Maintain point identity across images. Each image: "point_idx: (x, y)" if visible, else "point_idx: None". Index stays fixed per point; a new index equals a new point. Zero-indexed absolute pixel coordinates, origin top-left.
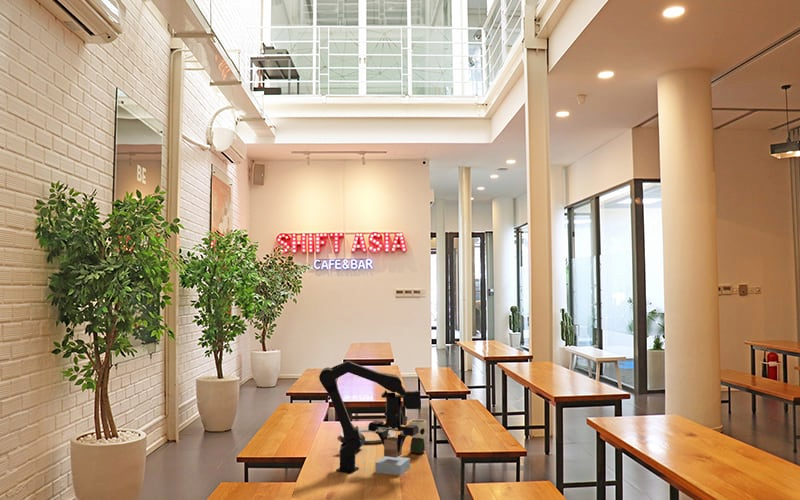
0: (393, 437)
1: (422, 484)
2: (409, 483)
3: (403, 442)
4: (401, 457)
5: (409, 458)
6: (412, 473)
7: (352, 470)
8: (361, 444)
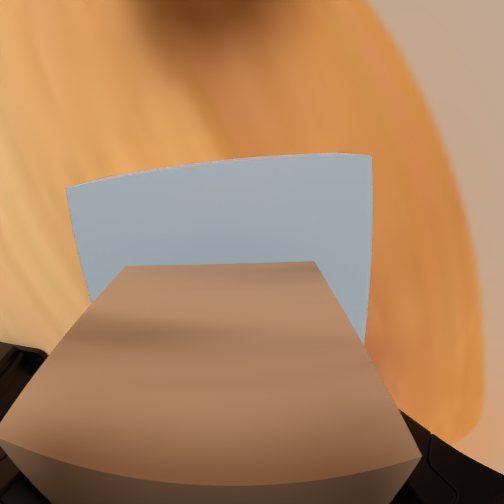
0: (104, 485)
1: (461, 388)
2: (409, 412)
3: (437, 444)
4: (265, 168)
5: (370, 167)
6: (399, 274)
7: None
8: None
